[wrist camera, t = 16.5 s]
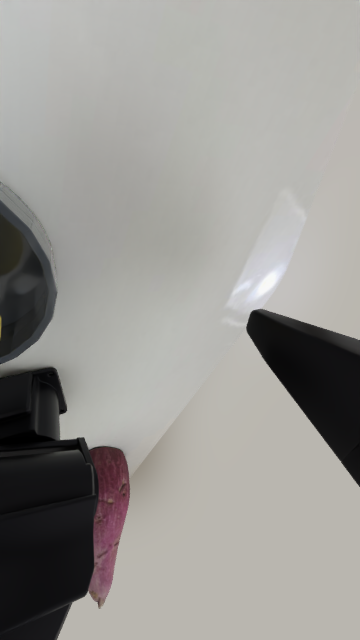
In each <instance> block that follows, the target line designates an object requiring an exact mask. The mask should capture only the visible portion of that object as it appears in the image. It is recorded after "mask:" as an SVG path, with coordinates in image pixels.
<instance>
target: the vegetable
mask: <svg viewBox="0 0 360 640" xmlns="http://www.w3.org/2000/svg"><path fill="white" fill-rule="evenodd" d="M89 452H90V455H91V457H92V460H93V463H94V465H95V468H96V471H97V474H98V480H99V499H98V506H97V510H96V514H95V517H94V529H93V538H94V572H93V575H92V579H91V582H90V586H89V589H88V591H89V593H90V595H91V597H92V598H93V600H94V601H96V602H98V607H99V609H100V608H101V607H102V606H103V604H104V602H105V599H106V597H107V595H108V593H109V590H110V588H111V584H112V580H113V573H114V565H115V560H116V555H117V549H118V545H119V540H120V537H121V532H122V529H123V525H124V522H125V517H126V513H127V510H128V505H129V498H130V485H129V472H128V466H127V461H126V459H125V456H124V454H123V452H122V451H121V450H119V449H115V448H112V447H100V448H99V447H98V448H95V449H92V450H89Z"/></svg>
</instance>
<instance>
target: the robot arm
mask: <svg viewBox="0 0 360 640" xmlns="http://www.w3.org/2000/svg"><path fill="white" fill-rule="evenodd" d="M246 329H247V333H248V334H249V336H250V338H251V339H252V341H253V342H254V344H255V346H256V347H257V349H258V350H259V352H260V354H261V355H262V357H263V359H264V360H265V361H266V363H267V364H268V365H269V367H270V368H271V370H272V371H273V372H274V373H275V375H276V376H277V378H278V379H279V380H280V382H281V383H282V384H283V385H284V387H285V388H286V390H287V391H288V392H289V394H290V395H291V396H292V397H293V399H294V400H295V401H296V403H297V404H298V405H299V407H300V408H301V409H302V411H303V412H304V413H305V415H306V416H307V417H308V419H309V420H310V421H311V423H312V424H313V425H314V427H315V428H316V429H317V431H318V432H319V433H320V434H321V436H322V437H323V439H324V440H325V441H326V442H327V444H328V445H329V447H330V448H331V449H332V450H333V452H334V453H335V454H336V456H337V457H338V458H339V460H340V461H341V463H342V464H343V465H344V467H345V468H346V469H347V471H348V472H349V473H350V475H351V476H352V477H353V479H354V480H355V481H356V483H357V484H358V485H359V487H360V340H357V339H355V338H351V337H349V336H345V335H342V334H339V333H336V332H333V331H330V330H327V329H323V328H320V327H317V326H314V325H311V324H307V323H304V322H301V321H298V320H295V319H292V318H289V317H285V316H282V315H279V314H276V313H273V312H269V311H267V310H263V309H258V310H253V311H252V312H251V314H250V317H249V320H248V323H247V327H246ZM49 373H52V374H49ZM66 411H67V405H66V402H65V398H64V394H63V391H62V387H61V384H60V380H59V376H58V373H57V370H56V369H55V368H48V369H43V370H39V371H34V372H29V373H25V374H20V375H15V376H11V377H6V378H1V379H0V640H57V638H58V636H59V633H60V631H61V629H62V626H63V624H64V621H65V619H66V616H67V614H68V612H69V609H70V607H71V605H72V602H74V601H76V600H78V599H80V598H82V597H85V595H86V594H87V592H88V589H89V586H90V582H91V579H92V575H93V572H94V538H93V529H94V517H95V514H96V510H97V506H98V499H99V480H98V474H97V471H96V468H95V465H94V463H93V460H92V457H91V455H90V452H89V450H88V447H87V444H86V442H85V439H84V438H77V439H70V440H60V425H59V415H60V414H63V413H65V412H66Z"/></svg>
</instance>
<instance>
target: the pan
mask: <svg viewBox="0 0 360 640" xmlns="http://www.w3.org/2000/svg"><path fill="white" fill-rule="evenodd" d="M56 296H57V280H56V267H55V262H54V256H53V251H52V247H51V243H50V241H49V239H48V237H47V235H46V232H45V231H44V229H43V227H42V225H41V224H40V222H39V220H38V219H37V218H36V216H35V215H34V214H33V212H32V211H31V210H30V208H29V207H28V206H27V205H26V204H25V203H24V202H23V201H22V200H21V199H20V198H19V197H18V196H17V195H16V194H15V193H14V192H13V191H11V190H10V189H9V188H8V187H7V186H6V185H4V184H3V183H2V182H0V316H1V337H0V364H2V363H5V362H7V361H9V360H12V359H14V358H16V357H17V356H19V355H20V354H21V353H23V352H24V351H25V350H26V349H28V348H29V347H30V346H31V345H33V344H34V343H35V342H37V341H38V340H39V338H40V337H41V335H42V334H43V332H44V331H45V329H46V327H47V326H48V324H49V323H50V321H51V320H52V317H53V313H54V308H55V302H56Z"/></svg>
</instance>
